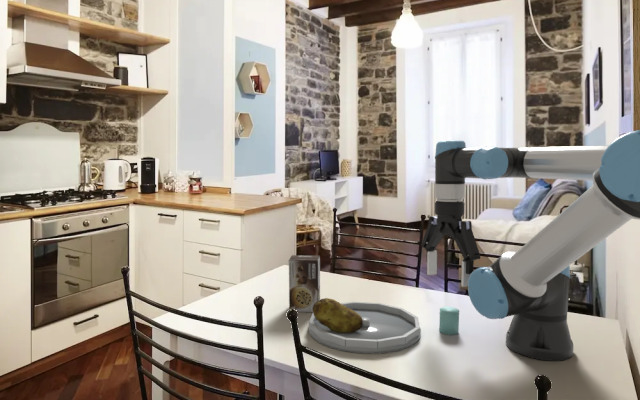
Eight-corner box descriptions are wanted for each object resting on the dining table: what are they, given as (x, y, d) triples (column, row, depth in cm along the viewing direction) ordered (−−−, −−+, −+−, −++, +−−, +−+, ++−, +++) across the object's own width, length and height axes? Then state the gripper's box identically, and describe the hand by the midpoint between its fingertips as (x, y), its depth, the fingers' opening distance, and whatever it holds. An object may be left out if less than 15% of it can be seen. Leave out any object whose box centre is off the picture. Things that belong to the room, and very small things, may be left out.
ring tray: (444, 342, 119) (444, 331, 119) (336, 361, 108) (336, 349, 108) (384, 306, 147) (384, 297, 146) (293, 318, 135) (293, 308, 135)
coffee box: (320, 306, 147) (321, 255, 145) (318, 313, 141) (318, 260, 139) (291, 304, 148) (291, 254, 146) (288, 311, 141) (288, 259, 140)
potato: (350, 340, 117) (350, 309, 116) (307, 329, 124) (308, 300, 123) (365, 330, 124) (366, 300, 123) (324, 320, 131) (324, 292, 130)
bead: (462, 333, 125) (463, 311, 125) (446, 336, 124) (447, 313, 123) (450, 326, 130) (451, 305, 129) (435, 329, 128) (436, 308, 128)
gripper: (496, 203, 113) (494, 289, 115) (430, 196, 136) (429, 269, 137) (472, 204, 110) (471, 293, 112) (409, 197, 133) (408, 271, 134)
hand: (448, 280), depth 125 cm, fingers open, 13 cm apart
